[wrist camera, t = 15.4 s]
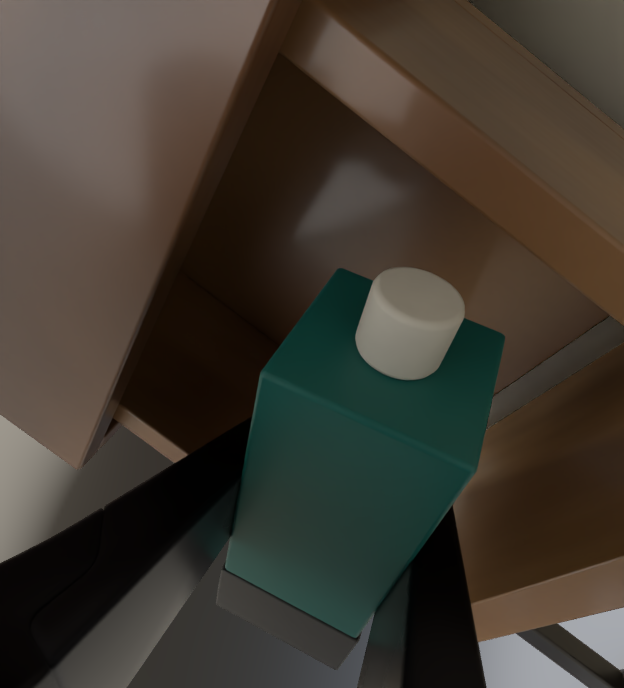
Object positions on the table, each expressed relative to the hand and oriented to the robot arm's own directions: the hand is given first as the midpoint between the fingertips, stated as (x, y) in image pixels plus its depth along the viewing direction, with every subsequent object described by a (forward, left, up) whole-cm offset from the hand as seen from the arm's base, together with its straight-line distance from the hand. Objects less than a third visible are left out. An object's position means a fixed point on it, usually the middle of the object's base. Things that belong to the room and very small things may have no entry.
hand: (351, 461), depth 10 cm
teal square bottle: (0, 0, -1) cm, 1 cm away
